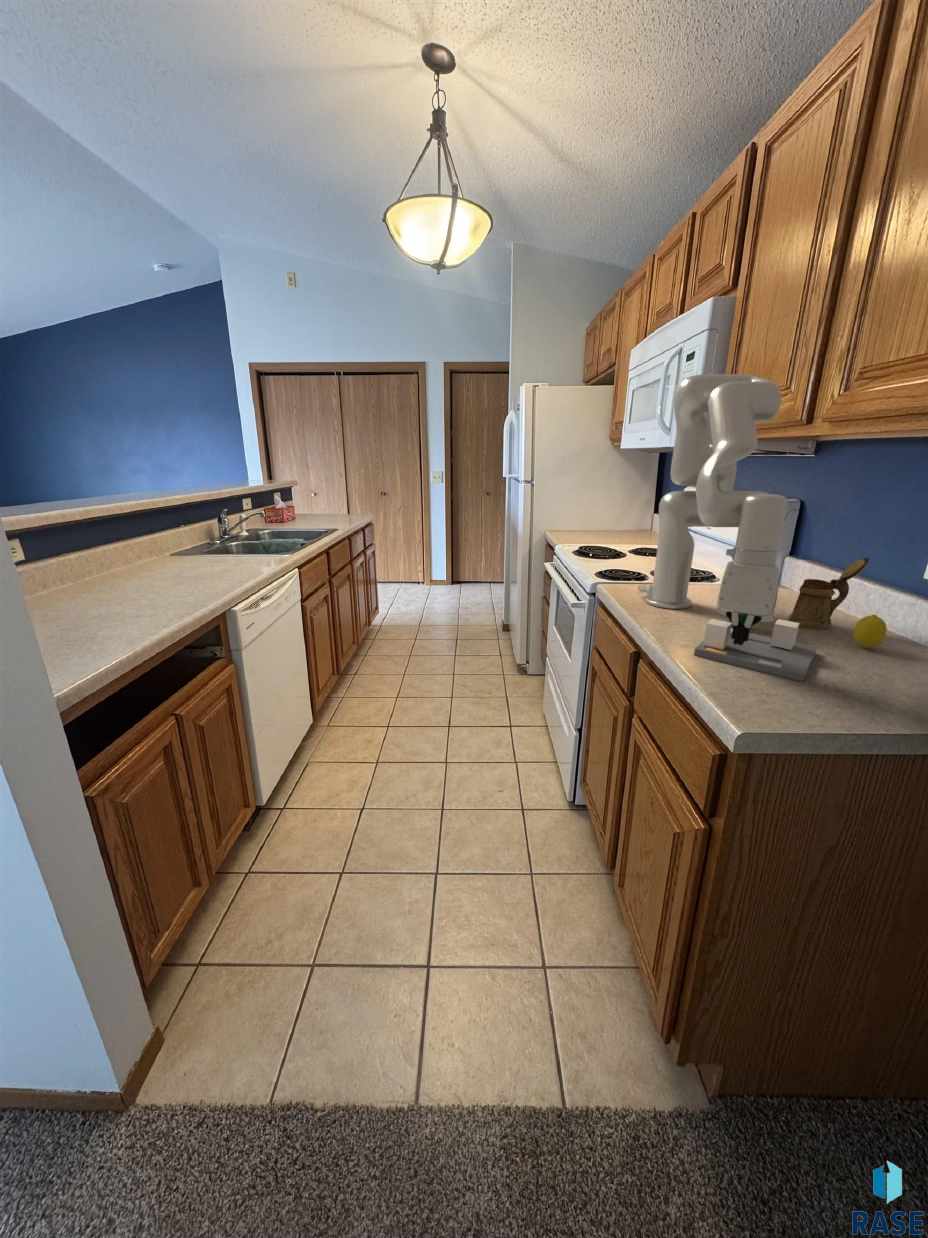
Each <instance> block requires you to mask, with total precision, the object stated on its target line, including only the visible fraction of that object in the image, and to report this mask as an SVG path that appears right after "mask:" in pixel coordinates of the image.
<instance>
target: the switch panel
mask: <svg viewBox="0 0 928 1238" xmlns="http://www.w3.org/2000/svg"><path fill="white" fill-rule="evenodd" d="M732 631H733V628H731V631H730V636H729V642H728V645H727V646H726V647H725V648H724V649H723V650H722V649H718V648H714V647H709V646H705V645H703V643H704V640H703V641H702V642H700V643H699V644H698V645H696V646H695V648H694V651H693V656H696V657H701V658H704V659H707V660H708V659H709V660H713V661H717V662H720V663H725V664H728V665H734V666H736V667H742V668H745V669H748V670H753V671H757V672H762V673H765V674H770V675H772V676H773V675H774V676H777V677H782V678H786V679H790V680H793V681H798V682H804V679H805V678H806V675H807V673H808V671H809V670H810V667H811V665H812V662H813V660H814V659H815V656H816V654H817V651H818V646H813V645H810V644H809V645H808V644H803V643H799V642H796V641H795V645H794V646H793V648H792V650H789V649H785V648H780V647H775V646H771V645H770V643H771V639H772V636H771V637H770V636H765V635H760V634H756V633H751V632H750V633H749V638H748V641H745V642H744V643H743V645H742V646H741V645H739V644H733V643H734V639H732V638H731V637H732Z"/></svg>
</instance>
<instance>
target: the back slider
mask: <svg viewBox="0 0 928 1238" xmlns="http://www.w3.org/2000/svg"><path fill="white" fill-rule="evenodd" d="M799 624H800V623H796V622H791V621H788V620H785V619H777V620H776V622H775V623H774V627H773V630H772V633H771V638H772V639H771V643H770V645H771V646H775V647H780V648H785V649H789V650H792V648H793V646H794V645H795V642H796V640H797V637H798V636H797V635H798V631H799V629H800V627H799Z"/></svg>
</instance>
